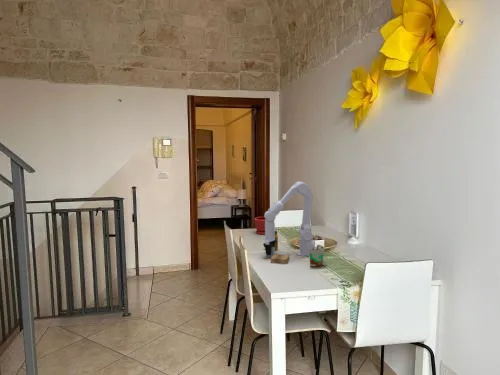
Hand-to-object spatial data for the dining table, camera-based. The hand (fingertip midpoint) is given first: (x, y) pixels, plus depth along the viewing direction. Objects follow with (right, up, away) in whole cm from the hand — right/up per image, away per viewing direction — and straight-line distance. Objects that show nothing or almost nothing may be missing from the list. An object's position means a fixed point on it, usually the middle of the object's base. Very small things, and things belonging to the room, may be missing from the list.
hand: (270, 253), depth 219 cm
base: (+5, -2, -11) cm, 12 cm away
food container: (+25, -3, -20) cm, 32 cm away
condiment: (+2, 0, +13) cm, 13 cm away
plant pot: (-2, +4, +60) cm, 60 cm away
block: (0, -2, 0) cm, 2 cm away
